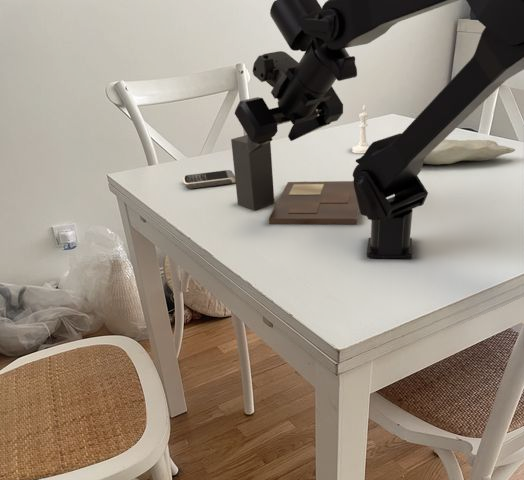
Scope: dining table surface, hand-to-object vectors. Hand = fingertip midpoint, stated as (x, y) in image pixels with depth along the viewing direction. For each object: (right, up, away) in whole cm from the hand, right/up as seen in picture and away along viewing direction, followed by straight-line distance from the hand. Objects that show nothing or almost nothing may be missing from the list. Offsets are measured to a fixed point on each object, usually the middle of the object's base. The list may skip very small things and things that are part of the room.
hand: (269, 144), depth 92 cm
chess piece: (+22, +12, +35) cm, 43 cm away
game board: (+9, -8, +8) cm, 14 cm away
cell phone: (-13, 0, +23) cm, 26 cm away
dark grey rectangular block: (-3, -8, +10) cm, 13 cm away
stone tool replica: (+39, +4, +22) cm, 45 cm away
